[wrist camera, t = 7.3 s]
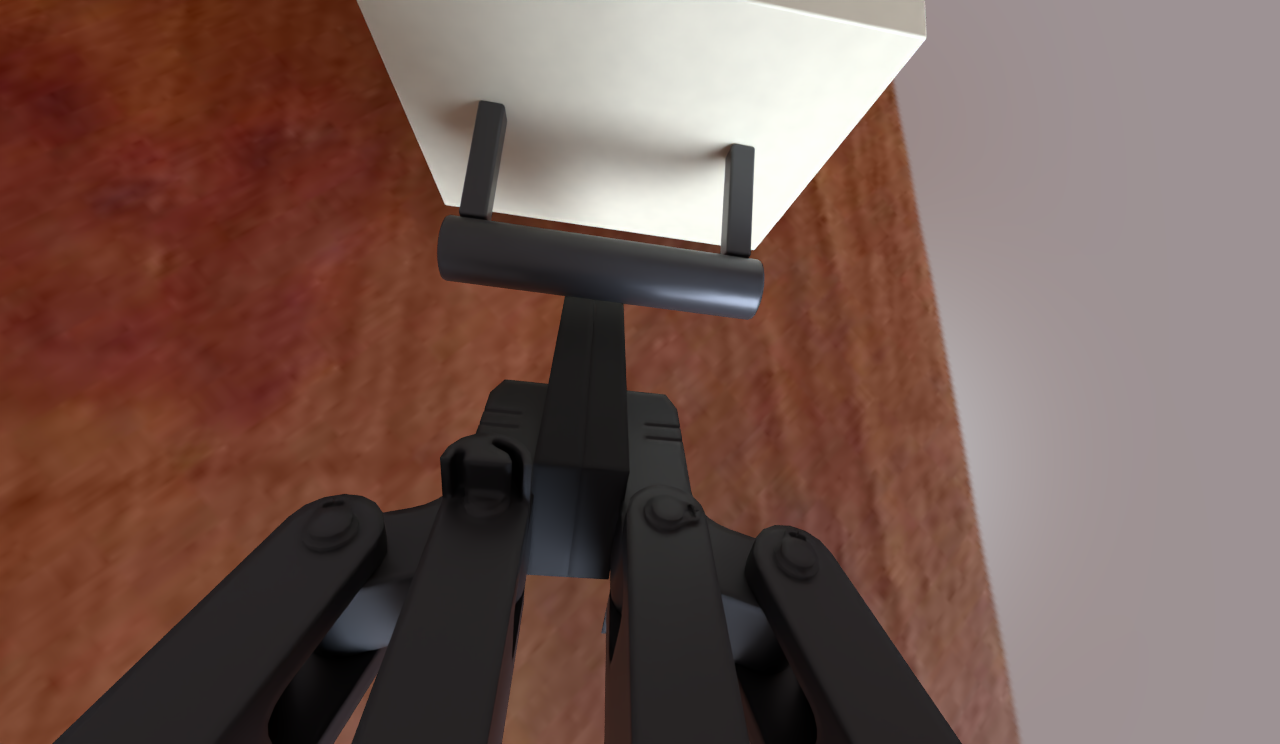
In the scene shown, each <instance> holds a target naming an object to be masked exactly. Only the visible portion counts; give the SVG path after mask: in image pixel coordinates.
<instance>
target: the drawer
mask: <svg viewBox="0 0 1280 744" xmlns="http://www.w3.org/2000/svg"><path fill="white" fill-rule="evenodd" d="M357 2H358V5H359V7H360V9H361V11H362V14H363V16H364V18H365V21H366V23H367V25H368V28H369V30H370V32H371V35H372V37H373V39H374V42H375V44H376V46H377V48H378V51H379V53H380V55H381V58H382V60H383V62H384V65H385V67H386V69H387V72H388V74H389V76H390V78H391V81H392V83H393V85H394V88H395V90H396V92H397V95H398V97H399V99H400V102H401V104H402V106H403V109H404V111H405V113H406V115H407V118H408V120H409V122H410V125H411V127H412V129H413V132H414V134H415V136H416V139H417V141H418V143H419V145H420V148H421V150H422V152H423V155H424V157H425V159H426V162H427V164H428V166H429V169H430V171H431V173H432V175H433V178H434V180H435V182H436V185H437V187H438V189H439V192H440V194H441V196H442V199H443V201H444V203H445V205H450V206H457V207H460V209H459V214H460V216H454V215H449V216H446V217H445V218H444V220H443V222H442V225H441V228H440V232H439V237H438V247H437V259H438V267H439V271H440V274H441V277H442V278H443V279H445V280H447V281H454V282H462V283H470V284H477V285H485V286H493V287H500V288H508V289H516V290H523V291H531V292H539V293H546V294H554V295H562V296H569V297H577V298H585V299H592V300H600V301H608V302H615V303H623V304H631V305H639V306H646V307H654V308H662V309H669V310H677V311H685V312H692V313H700V314H708V315H715V316H723V317H731V318H738V319H746V320H748V319H751V318H752V317H753V316H754V315H755V313H756V312H757V310H758V307H759V305H760V302H761V298H762V294H763V288H764V268H763V264H762V263H761V261H759V260H757V259H750V258H749V257H750V255H751V250H755V249H756V247H757V246H758V245H759V244H760V242H761V241H762V240H763V239H764V238H765V236H766V235H767V234H768V233H769V231H770V230H771V229H772V228H773V226H774V225H775V224H776V223H777V222H778V220H779V219H780V218H781V217H782V215H783V214H784V213H785V212H786V210H787V209H788V208H789V207H790V206H791V204H792V203H793V202H794V201H795V199H796V198H797V197H798V196H799V194H800V193H801V192H802V191H803V190H804V188H805V187H806V186H807V185H808V183H809V182H810V181H811V180H812V178H813V177H814V176H815V175H816V174H817V172H818V171H819V170H820V169H821V167H822V166H823V165H824V164H825V163H826V161H827V160H828V159H829V158H830V156H831V155H832V154H833V153H834V151H835V150H836V149H837V148H838V147H839V145H840V144H841V143H842V142H843V140H844V139H845V138H846V137H847V135H848V134H849V133H850V132H851V131H852V129H853V128H854V127H855V126H856V124H857V123H858V122H859V121H860V119H861V118H862V117H863V116H864V115H865V113H866V112H867V111H868V110H869V108H870V107H871V106H872V105H873V103H874V102H875V101H876V100H877V99H878V97H879V96H880V95H881V94H882V92H883V91H884V90H885V89H886V87H887V86H888V85H889V84H890V83H891V81H892V80H893V79H894V78H895V76H896V75H897V74H898V73H899V71H900V70H901V69H902V68H903V66H904V65H905V64H906V63H907V62H908V60H909V59H910V58H911V57H912V55H913V54H914V53H915V52H916V51H917V49H918V48H919V47H920V46H921V44H922V43H923V42H924V41H925V39H926V36H927V34H926V14H925V0H357ZM492 212H498V213H505V214H511V215H518V216H525V217H532V218H539V219H545V220H552V221H559V222H566V223H572V224H579V225H586V226H593V227H600V228H606V229H613V230H620V231H627V232H634V233H640V234H647V235H654V236H661V237H668V238H674V239H681V240H688V241H695V242H702V243H708V244H715V245H721V251H720V254H716V253H709V252H702V251H695V250H688V249H681V248H675V247H668V246H661V245H654V244H647V243H640V242H633V241H626V240H619V239H613V238H606V237H599V236H592V235H585V234H578V233H571V232H564V231H557V230H550V229H544V228H537V227H530V226H523V225H516V224H509V223H502V222H495V221H491V217H492Z"/></svg>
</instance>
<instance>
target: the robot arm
mask: <svg viewBox="0 0 1280 744" xmlns="http://www.w3.org/2000/svg"><path fill="white" fill-rule="evenodd" d="M440 463H441V478H442V493H443V496H442V497H440V498H439V499H436V500H434V501H432V502H430V503H427V504H425V505H421V506H417V507H413V508H408V509H402V510H396V511H390V512H385V513H383V512H382V511H381V510H380V508H379V507H378V505H377V504H376V503H375V502H373V501H371V500H369V499H367V498H365V497H363V496H358V495H348V494H342V495H335V496H329V497H324V498H321V499H319V500H316V501H314V502H311V503H309V504H306V505H304V506H303V507H302V508H300V509H299V510H297V511H296V512H295V513H293V514H292V515H291V516H289V517H288V518H287V519H286V520H285V521H284V522H283V523H282V524H281V525H280V526H279V527H277V528H276V529H275V530H274V531H273V532H272V533H271V534H270V535H269V536H268V537H267V538H266V539H265V540H264V541H263V542H262V543H261V544H260V545H259V546H258V547H257V548H256V549H255V550H254V551H252V552H251V553H250V554H249V555H248V556H247V557H246V558H245V559H244V560H243V561H242V562H241V563H240V564H239V565H238V566H237V567H236V568H235V569H234V570H233V571H232V572H231V573H230V574H229V575H227V576H226V577H225V578H224V579H223V580H222V581H221V582H220V583H219V584H218V585H217V586H216V587H215V588H214V589H213V590H212V591H211V592H210V593H209V594H208V595H207V596H206V597H205V598H204V599H203V600H201V601H200V602H199V603H198V604H197V605H196V606H195V607H194V608H193V609H192V610H191V611H190V612H189V613H188V614H187V615H186V616H185V617H184V618H183V619H182V620H181V621H180V622H179V623H178V624H176V625H175V626H174V627H173V628H172V629H171V630H170V631H169V632H168V633H167V634H166V635H165V636H164V637H163V638H162V639H161V640H160V641H159V642H158V643H157V644H156V645H155V646H154V647H153V648H152V649H150V650H149V651H148V652H147V653H146V654H145V655H144V656H143V657H142V658H141V659H140V660H139V661H138V662H137V663H136V664H135V665H134V666H133V667H132V668H131V669H130V670H129V671H128V672H127V673H125V674H124V675H123V676H122V677H121V678H120V679H119V680H118V681H117V682H116V683H115V684H114V685H113V686H112V687H111V688H110V689H109V690H108V691H107V692H106V693H105V694H104V695H103V696H102V697H100V698H99V699H98V700H97V701H96V702H95V703H94V704H93V705H92V706H91V707H90V708H89V709H88V710H87V711H86V712H85V713H84V714H83V715H82V716H81V717H80V718H79V719H78V720H77V721H76V722H74V723H73V724H72V725H71V726H70V727H69V728H68V729H67V730H66V731H65V732H64V733H63V734H62V735H61V736H60V737H59V738H58V739H57V740H56V741H55V742H54V743H53V744H334V742H335V740H336V739H337V737H338V736H339V734H340V732H341V731H342V729H343V728H344V726H345V724H346V723H347V721H348V720H349V718H350V716H351V715H352V713H353V712H354V710H355V708H356V707H357V705H358V704H359V702H360V700H361V699H362V697H363V696H364V694H365V692H366V691H367V689H368V688H369V686H370V684H371V683H372V681H373V680H374V678H375V676H376V675H377V676H376V679H375V682H374V684H373V687H372V690H371V693H370V695H369V698H368V701H367V703H366V706H365V709H364V711H363V714H362V717H361V720H360V722H359V725H358V728H357V730H356V733H355V736H354V738H353V741H352V744H502V738H503V732H504V726H505V719H506V713H507V706H508V700H509V694H510V687H511V681H512V675H513V668H514V662H515V656H516V649H517V643H518V636H519V630H520V624H521V617H522V611H523V605H524V589H525V581H526V575H527V574H528V575H544V576H561V577H578V578H594V579H608V578H609V573H610V594H609V599H608V603H607V608H606V613H605V618H604V623H603V628H602V633H606V675H605V740H604V744H750V743H751V744H962V743H961V742H960V740H959V739H958V737H957V736H956V734H955V733H954V732H953V730H952V729H951V727H950V726H949V724H948V723H947V721H946V720H945V718H944V717H943V716H942V714H941V713H940V711H939V710H938V708H937V707H936V705H935V704H934V702H933V701H932V699H931V698H930V697H929V695H928V694H927V692H926V691H925V689H924V688H923V686H922V685H921V683H920V682H919V680H918V679H917V678H916V676H915V675H914V673H913V672H912V670H911V669H910V667H909V666H908V664H907V663H906V661H905V660H904V659H903V657H902V656H901V654H900V653H899V651H898V650H897V648H896V647H895V645H894V644H893V643H892V641H891V640H890V638H889V637H888V635H887V634H886V632H885V631H884V629H883V628H882V626H881V625H880V624H879V622H878V621H877V619H876V618H875V616H874V615H873V613H872V612H871V610H870V609H869V607H868V606H867V605H866V603H865V602H864V600H863V599H862V597H861V596H860V594H859V593H858V591H857V590H856V589H855V587H854V586H853V584H852V583H851V581H850V580H849V578H848V577H847V575H846V574H845V572H844V571H843V570H842V568H841V567H840V565H839V564H838V562H837V561H836V559H835V558H834V556H833V555H832V553H831V552H830V551H829V550H828V549H827V548H826V547H825V546H824V545H823V544H822V542H821V541H820V540H818V539H817V538H815V537H814V536H812V535H811V534H809V533H807V532H806V531H804V530H801V529H798V528H795V527H792V526H782V525H774V526H772V527H769V528H766V529H763V530H762V531H761V533H760V534H759V535H758V536H757V537H756V538H753V537H750V536H747V535H744V534H741V533H739V532H736V531H733V530H730V529H728V528H725V527H723V526H721V525H719V524H717V523H716V522H714V521H713V520H711V519H710V518H708V517H707V516H706V515H705V513H704V511H703V508H702V506H701V505H700V504H699V502H698V501H697V500H696V499H695V498H694V497H693V496H692V493H691V488H690V482H689V476H688V470H687V465H686V459H685V453H684V447H683V442H682V436H681V430H680V424H679V418H678V412H677V409H676V408H675V406H674V405H673V404H672V402H671V401H670V400H669V399H668V397H667V396H666V395H663V394H654V393H644V392H635V391H627V387H626V360H625V334H624V307H623V303H615V302H608V301H600V300H592V299H585V298H577V297H569V296H565V299H564V305H563V310H562V315H561V320H560V326H559V331H558V336H557V341H556V347H555V352H554V357H553V362H552V368H551V373H550V378H549V383H548V384H543V383H534V382H524V381H515V380H504V381H503V382H502V383H500V384H499V385H498V386H497V387H496V388H495V389H494V390H492V391H491V392H490V395H489V397H488V400H487V403H486V406H485V410H484V412H483V414H482V417H481V420H480V425H479V426H478V429H477V432H476V434H474V435H470V436H467V437H463V438H461V439H459V440H458V441H456V442H455V443H453V444H451V445H450V446H448V448H447V449H446V450H445V452H444V453H443V454H442V456H441V457H440ZM377 673H378V674H377ZM749 741H750V742H749Z"/></svg>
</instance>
